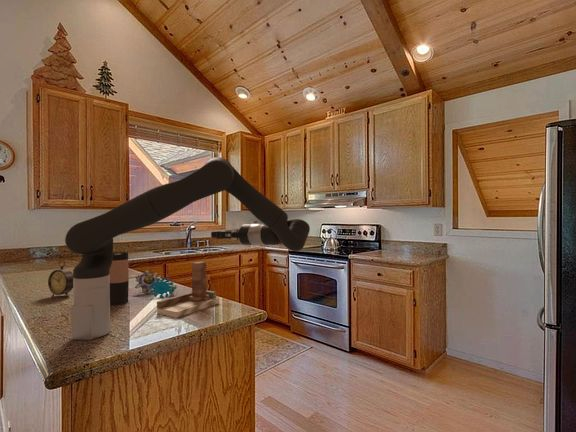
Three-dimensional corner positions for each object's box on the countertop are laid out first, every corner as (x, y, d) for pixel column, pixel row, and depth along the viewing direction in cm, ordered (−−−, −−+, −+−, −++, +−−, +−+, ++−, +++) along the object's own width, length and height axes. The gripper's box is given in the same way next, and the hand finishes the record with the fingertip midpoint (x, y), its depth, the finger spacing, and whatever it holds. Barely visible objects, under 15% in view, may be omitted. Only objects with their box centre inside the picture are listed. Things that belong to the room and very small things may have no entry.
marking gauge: (200, 302, 120) (200, 264, 120) (189, 300, 123) (188, 263, 123) (211, 299, 125) (210, 262, 125) (199, 297, 128) (199, 261, 128)
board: (176, 318, 109) (176, 305, 109) (157, 313, 114) (156, 301, 114) (218, 303, 127) (218, 292, 127) (200, 300, 132) (200, 289, 132)
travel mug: (103, 303, 128) (102, 253, 128) (121, 299, 135) (120, 251, 135) (115, 306, 124) (114, 254, 124) (133, 301, 131) (132, 252, 131)
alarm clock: (47, 296, 140) (46, 260, 140) (59, 293, 146) (58, 258, 146) (66, 298, 137) (65, 260, 137) (77, 295, 142) (77, 259, 142)
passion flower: (149, 305, 145) (134, 286, 139) (141, 296, 153) (126, 278, 147) (170, 288, 151) (157, 270, 145) (161, 280, 158) (148, 263, 152)
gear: (148, 295, 134) (151, 275, 141) (147, 303, 137) (150, 283, 144) (176, 296, 137) (177, 277, 144) (174, 304, 141) (176, 285, 148)
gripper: (266, 223, 118) (231, 223, 126) (242, 223, 106) (206, 224, 114) (266, 243, 118) (231, 242, 126) (242, 246, 105) (206, 245, 113)
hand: (219, 234), depth 120 cm, fingers open, 8 cm apart
